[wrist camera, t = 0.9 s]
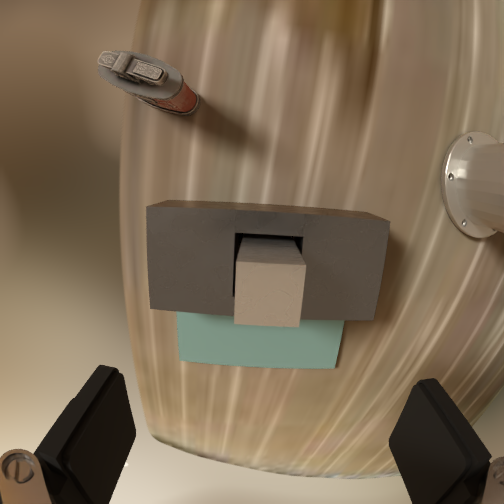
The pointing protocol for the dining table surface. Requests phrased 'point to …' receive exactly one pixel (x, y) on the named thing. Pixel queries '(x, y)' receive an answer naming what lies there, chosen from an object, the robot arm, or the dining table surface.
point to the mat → (258, 342)
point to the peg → (269, 281)
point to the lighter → (149, 81)
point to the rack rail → (273, 223)
